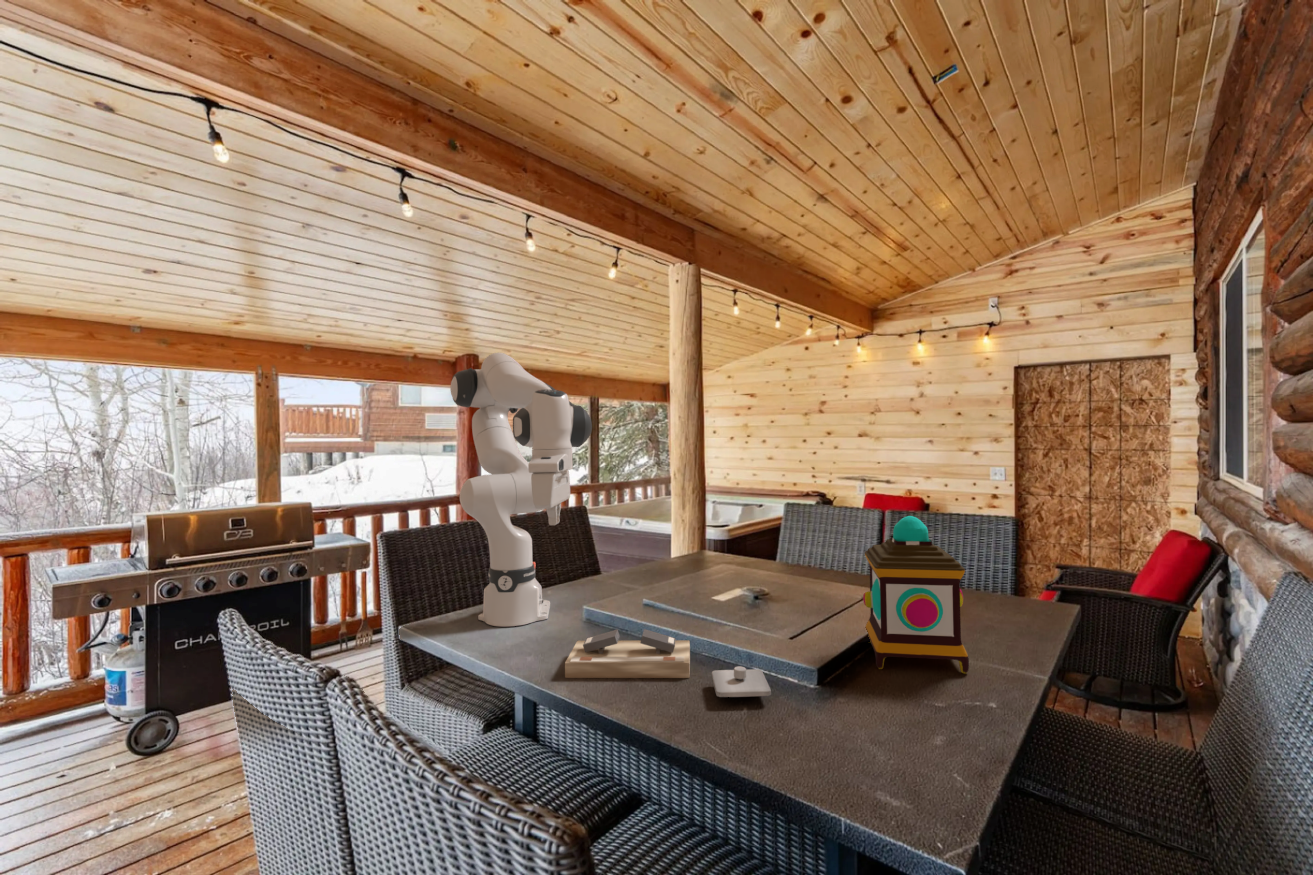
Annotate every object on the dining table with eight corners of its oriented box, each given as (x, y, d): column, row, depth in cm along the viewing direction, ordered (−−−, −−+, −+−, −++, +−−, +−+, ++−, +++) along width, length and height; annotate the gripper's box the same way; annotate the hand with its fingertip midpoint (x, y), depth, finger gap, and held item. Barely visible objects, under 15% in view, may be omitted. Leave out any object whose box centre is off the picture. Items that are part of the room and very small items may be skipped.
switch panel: (577, 653, 134) (577, 636, 134) (690, 653, 133) (689, 635, 133) (565, 677, 121) (564, 657, 121) (689, 677, 120) (688, 657, 120)
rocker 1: (588, 645, 130) (586, 637, 130) (619, 636, 129) (617, 628, 129) (585, 652, 125) (582, 644, 125) (617, 643, 125) (614, 635, 125)
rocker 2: (642, 635, 129) (644, 628, 129) (673, 645, 129) (675, 637, 129) (640, 643, 125) (642, 635, 125) (672, 652, 124) (675, 644, 124)
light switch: (772, 706, 107) (771, 677, 107) (717, 707, 107) (716, 679, 107) (761, 683, 117) (761, 657, 117) (711, 684, 117) (710, 658, 117)
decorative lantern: (858, 638, 140) (855, 509, 140) (950, 642, 136) (947, 509, 136) (871, 672, 121) (867, 522, 120) (978, 678, 116) (975, 523, 116)
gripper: (549, 460, 144) (551, 517, 145) (525, 464, 124) (527, 531, 124) (575, 459, 144) (577, 517, 144) (556, 464, 124) (557, 531, 124)
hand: (554, 524), depth 134 cm, fingers closed
